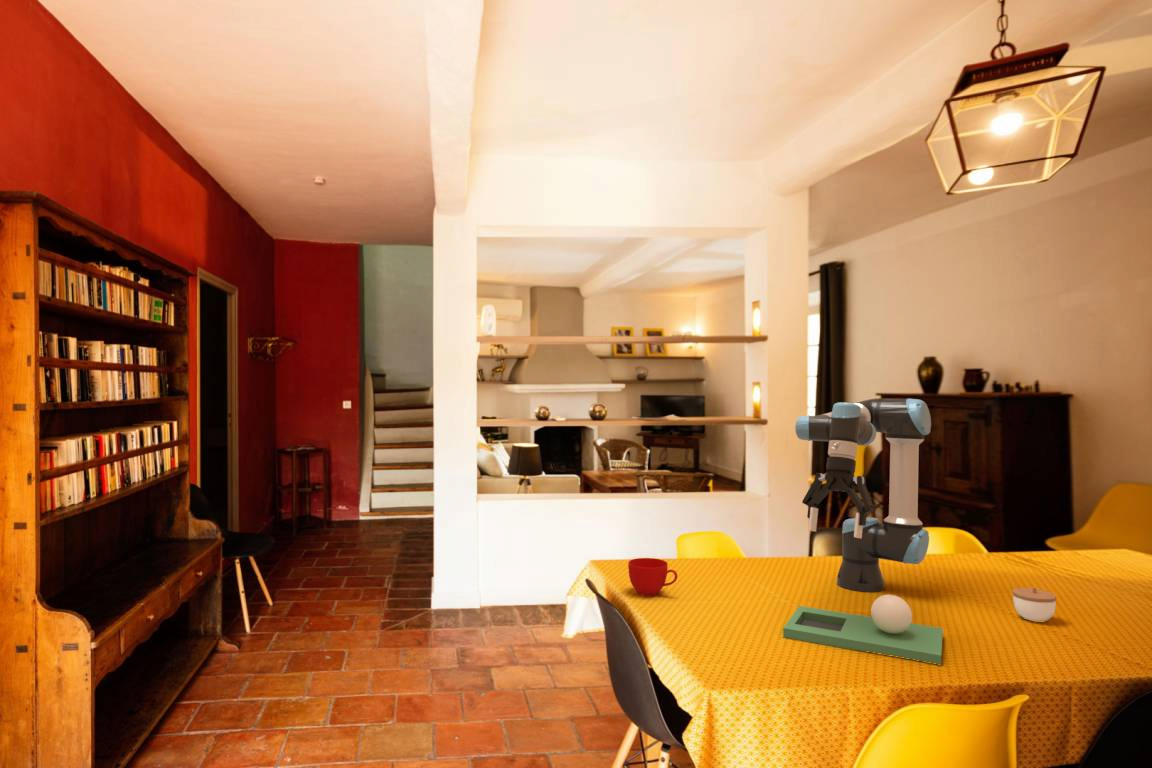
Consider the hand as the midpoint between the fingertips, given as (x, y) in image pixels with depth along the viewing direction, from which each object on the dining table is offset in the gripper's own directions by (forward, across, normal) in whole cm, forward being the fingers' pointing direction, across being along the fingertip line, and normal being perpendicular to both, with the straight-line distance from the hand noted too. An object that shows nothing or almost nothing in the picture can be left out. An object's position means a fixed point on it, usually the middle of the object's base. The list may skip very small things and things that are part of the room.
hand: (834, 534), depth 187 cm
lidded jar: (+14, +28, +65) cm, 72 cm away
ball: (+18, +11, +13) cm, 25 cm away
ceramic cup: (+28, -59, -6) cm, 65 cm away
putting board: (+26, +4, +12) cm, 29 cm away
